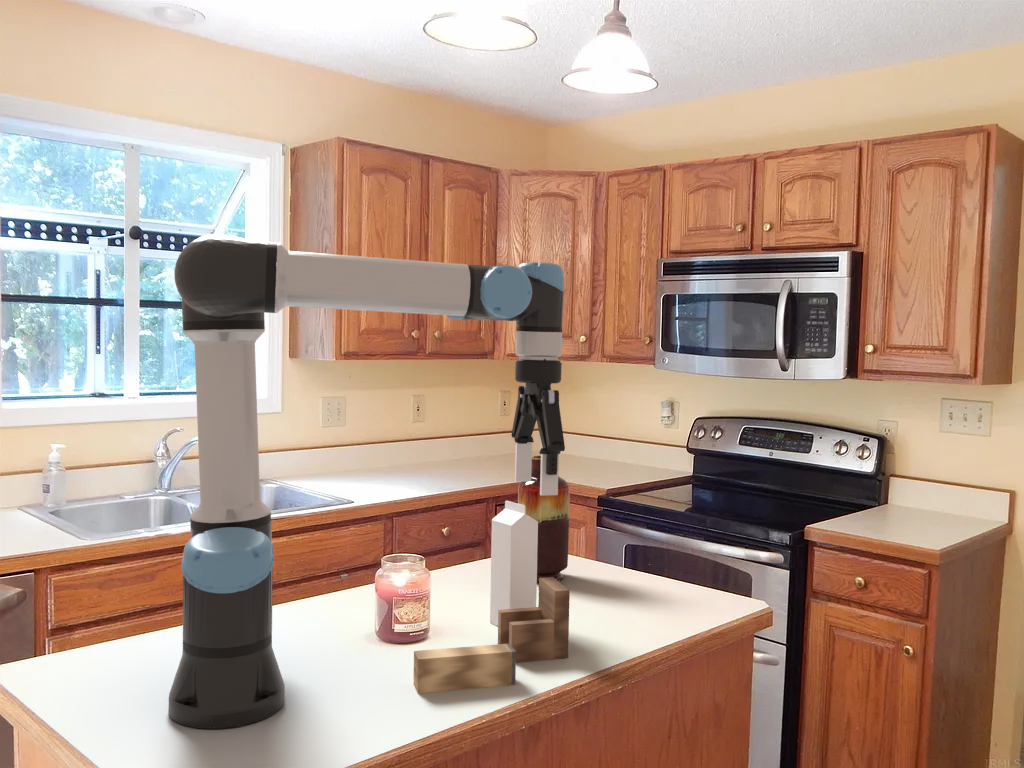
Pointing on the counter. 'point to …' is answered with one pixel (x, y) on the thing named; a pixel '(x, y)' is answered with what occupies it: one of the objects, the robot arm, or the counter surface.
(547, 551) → the vase
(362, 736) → the counter surface
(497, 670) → the wooden block
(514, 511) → the milk
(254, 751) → the counter surface
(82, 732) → the counter surface
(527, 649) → the brown wooden blocks
